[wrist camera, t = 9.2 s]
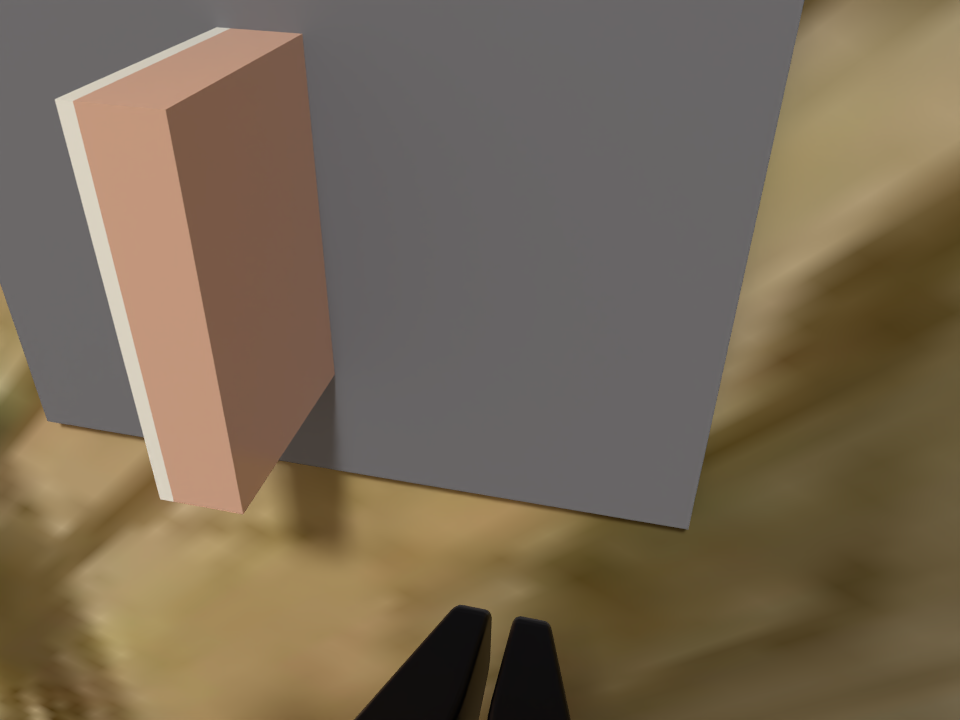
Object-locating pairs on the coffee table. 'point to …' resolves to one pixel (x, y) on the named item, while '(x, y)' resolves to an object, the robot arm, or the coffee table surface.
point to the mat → (455, 228)
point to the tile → (209, 252)
